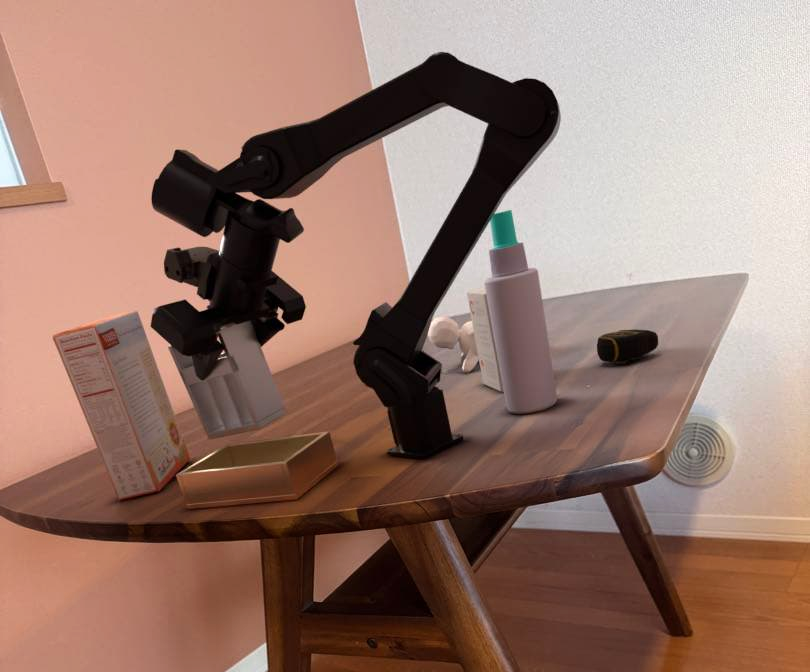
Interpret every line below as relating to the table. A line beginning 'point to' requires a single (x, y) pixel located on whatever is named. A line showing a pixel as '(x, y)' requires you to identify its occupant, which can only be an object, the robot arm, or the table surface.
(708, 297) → the table surface
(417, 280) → the robot arm
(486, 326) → the small box
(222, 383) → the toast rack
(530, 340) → the spray bottle
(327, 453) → the copper metal tray
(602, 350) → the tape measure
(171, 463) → the cracker box
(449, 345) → the beige lumpy shape
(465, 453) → the table surface
